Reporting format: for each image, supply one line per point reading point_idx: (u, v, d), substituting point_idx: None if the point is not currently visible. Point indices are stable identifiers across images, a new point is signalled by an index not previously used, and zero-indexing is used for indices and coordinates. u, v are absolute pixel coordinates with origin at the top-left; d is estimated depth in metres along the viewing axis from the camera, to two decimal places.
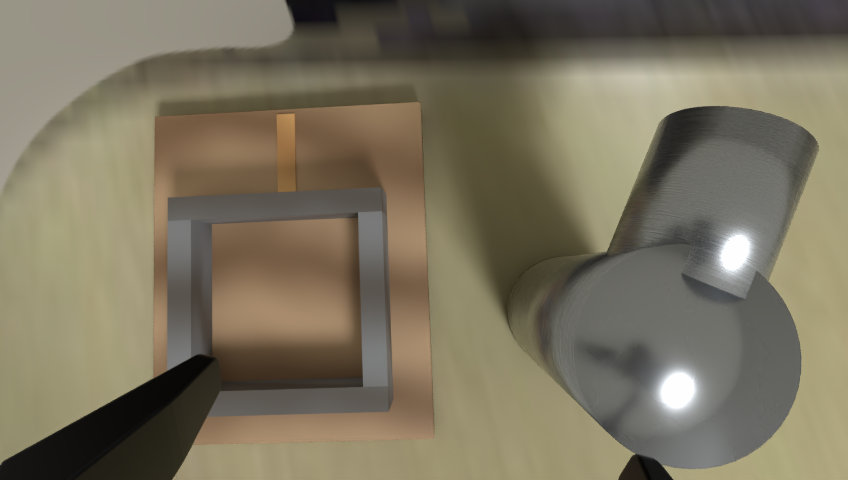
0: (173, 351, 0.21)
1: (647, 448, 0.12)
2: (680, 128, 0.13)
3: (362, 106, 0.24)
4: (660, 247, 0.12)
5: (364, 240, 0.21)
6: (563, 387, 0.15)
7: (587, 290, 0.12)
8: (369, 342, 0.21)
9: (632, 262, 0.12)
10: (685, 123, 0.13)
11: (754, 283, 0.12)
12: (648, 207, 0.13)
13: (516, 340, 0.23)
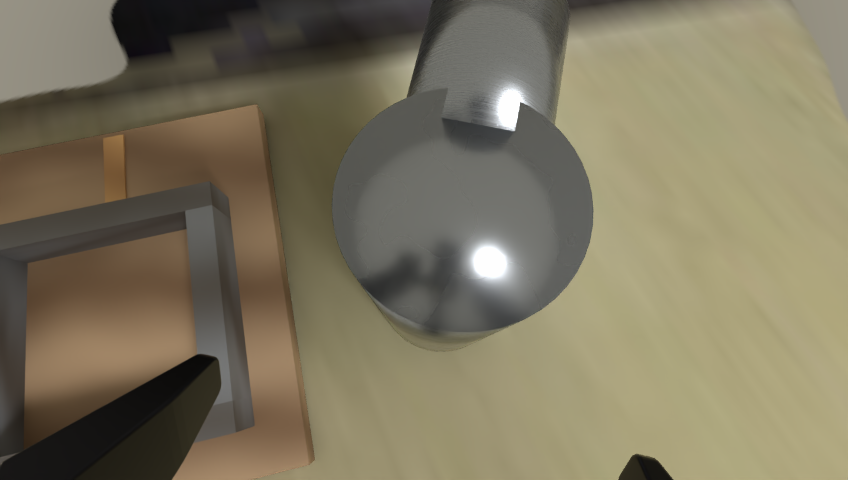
0: None
1: (436, 316, 0.09)
2: (434, 5, 0.13)
3: (196, 117, 0.23)
4: (414, 95, 0.11)
5: (193, 238, 0.19)
6: (382, 312, 0.12)
7: None
8: (206, 352, 0.18)
9: (386, 115, 0.11)
10: None
11: (522, 115, 0.11)
12: (414, 79, 0.12)
13: (394, 329, 0.21)
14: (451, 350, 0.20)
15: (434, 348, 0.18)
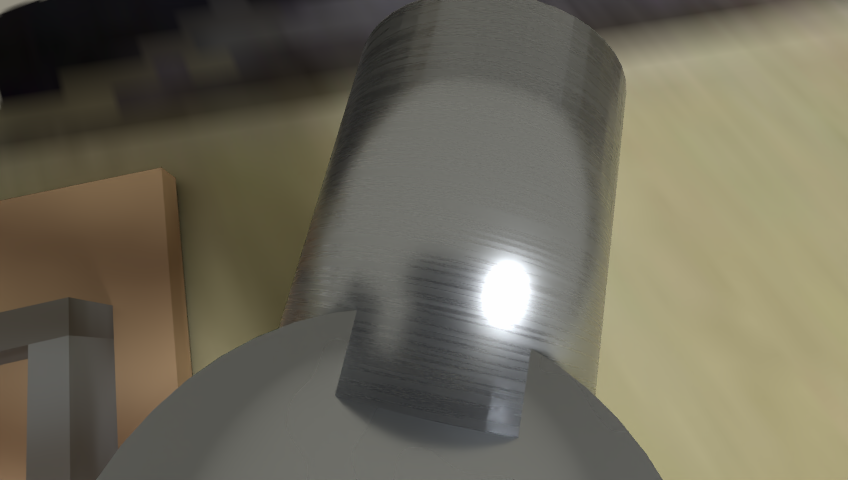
0: None
1: None
2: (358, 75, 0.06)
3: (77, 186, 0.17)
4: (272, 334, 0.04)
5: (36, 390, 0.13)
6: None
7: None
8: None
9: (197, 391, 0.04)
10: (361, 63, 0.06)
11: (537, 384, 0.04)
12: (306, 240, 0.06)
13: None
14: None
15: None
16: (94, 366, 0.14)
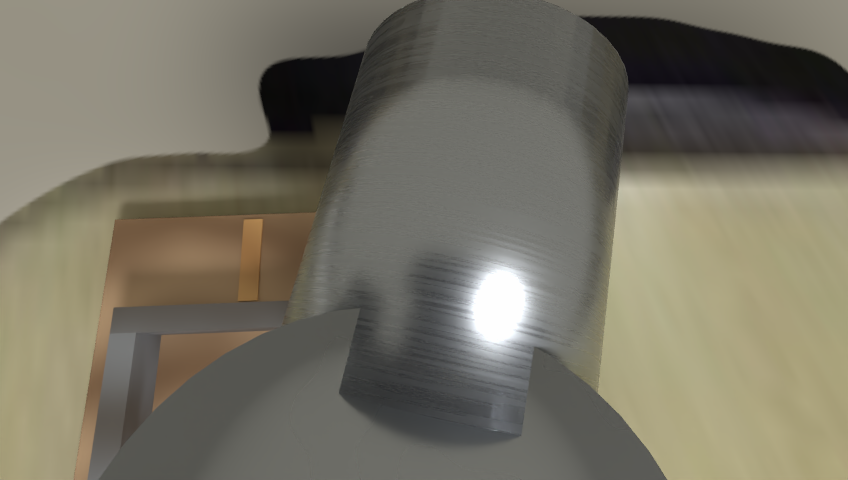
0: None
1: None
2: (360, 74, 0.07)
3: None
4: (275, 331, 0.04)
5: None
6: None
7: None
8: None
9: (201, 388, 0.04)
10: (364, 62, 0.06)
11: (540, 382, 0.04)
12: (309, 239, 0.06)
13: None
14: None
15: None
16: None
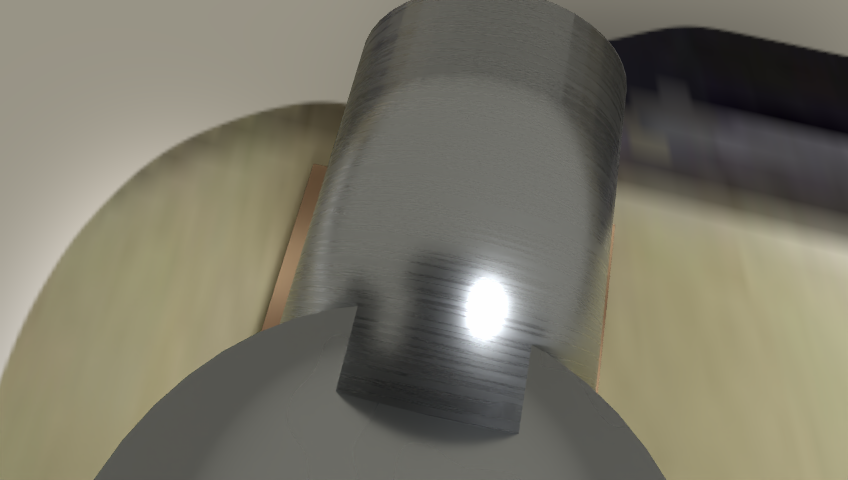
0: None
1: None
2: (358, 73, 0.06)
3: None
4: (272, 329, 0.04)
5: None
6: None
7: None
8: None
9: (197, 387, 0.04)
10: (362, 60, 0.06)
11: (537, 380, 0.04)
12: (307, 237, 0.06)
13: None
14: None
15: None
16: None
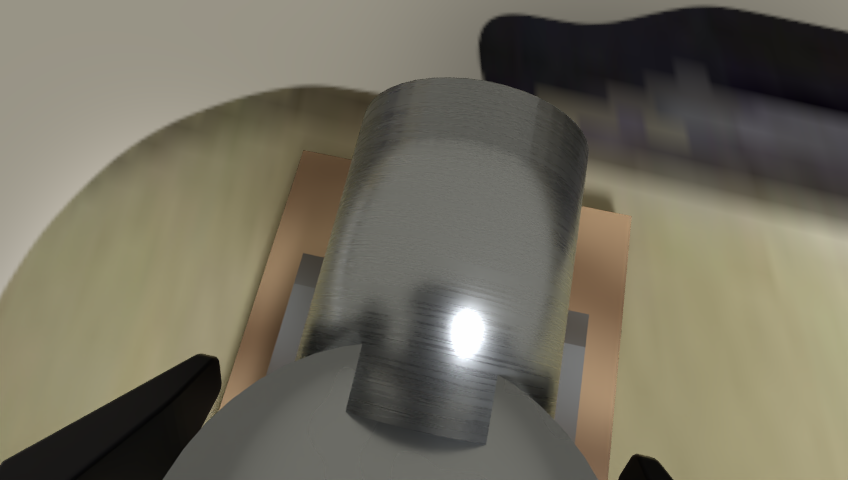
0: None
1: None
2: (361, 136, 0.08)
3: None
4: (296, 363, 0.06)
5: None
6: None
7: None
8: None
9: (239, 408, 0.05)
10: (364, 126, 0.08)
11: (502, 402, 0.06)
12: (320, 280, 0.07)
13: None
14: None
15: None
16: None
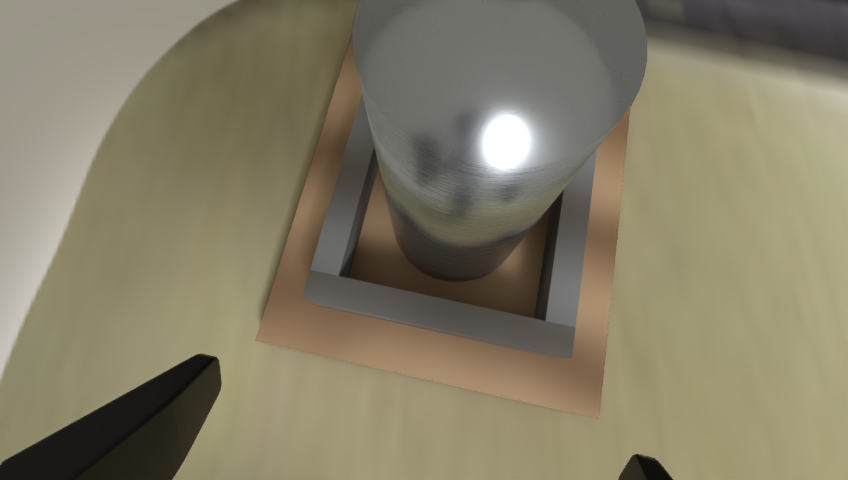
0: (330, 225, 0.18)
1: (472, 151, 0.08)
2: None
3: None
4: None
5: None
6: (404, 192, 0.11)
7: None
8: (561, 272, 0.18)
9: None
10: None
11: None
12: None
13: (407, 258, 0.20)
14: (468, 279, 0.19)
15: (452, 268, 0.17)
16: None
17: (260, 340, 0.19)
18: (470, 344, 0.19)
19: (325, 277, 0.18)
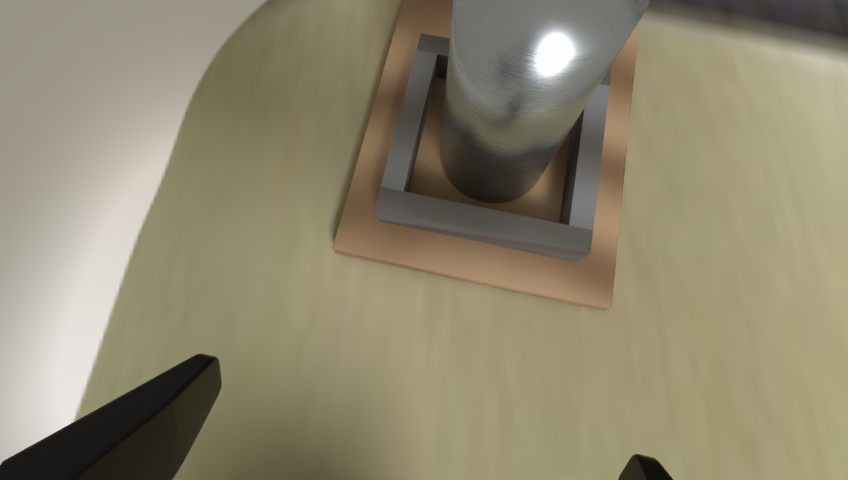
0: (395, 153, 0.23)
1: (539, 45, 0.13)
2: None
3: None
4: None
5: (590, 104, 0.23)
6: (476, 96, 0.16)
7: None
8: (581, 188, 0.22)
9: None
10: None
11: None
12: None
13: (454, 184, 0.24)
14: (504, 200, 0.24)
15: (495, 182, 0.21)
16: None
17: (336, 248, 0.23)
18: (506, 251, 0.23)
19: (392, 192, 0.22)
